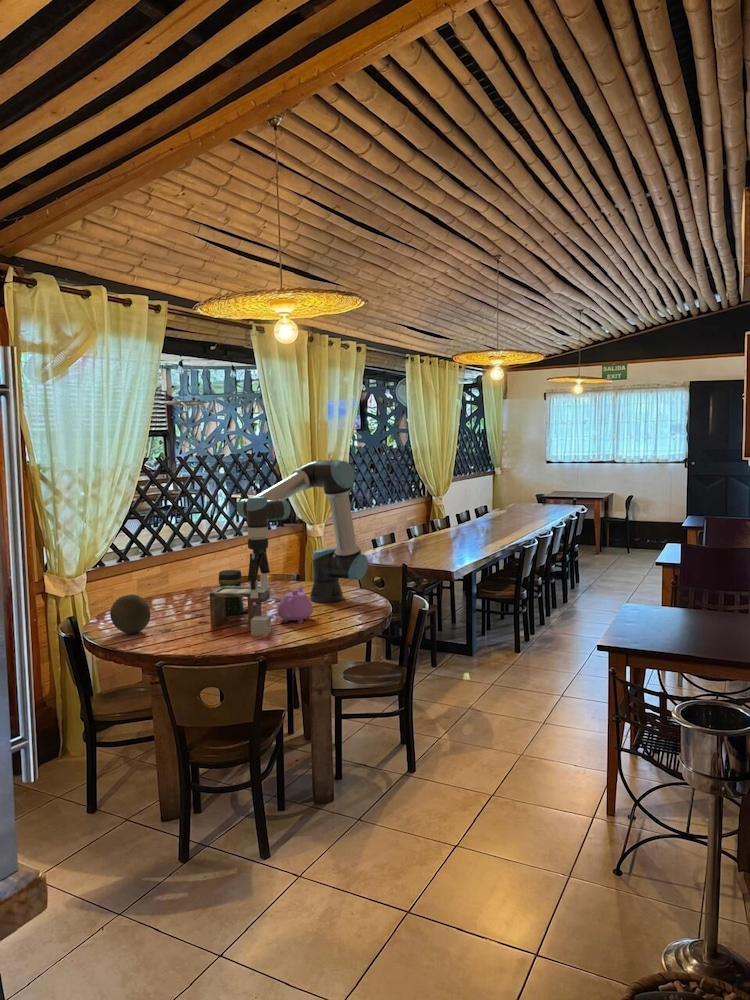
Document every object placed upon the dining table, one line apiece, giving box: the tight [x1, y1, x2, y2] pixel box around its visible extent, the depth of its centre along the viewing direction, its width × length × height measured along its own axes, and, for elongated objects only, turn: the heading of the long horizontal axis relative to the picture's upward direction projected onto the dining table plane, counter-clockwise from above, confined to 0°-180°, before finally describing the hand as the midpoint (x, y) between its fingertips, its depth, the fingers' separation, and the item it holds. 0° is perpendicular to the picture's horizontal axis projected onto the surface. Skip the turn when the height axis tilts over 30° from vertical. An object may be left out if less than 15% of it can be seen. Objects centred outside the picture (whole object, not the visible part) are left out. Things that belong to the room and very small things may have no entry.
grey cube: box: [250, 615, 272, 637], centre depth 256 cm, size 6×6×6 cm
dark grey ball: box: [109, 594, 151, 635], centre depth 258 cm, size 14×14×15 cm
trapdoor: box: [220, 587, 270, 604], centre depth 270 cm, size 19×8×4 cm, turn 84°
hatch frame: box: [209, 585, 263, 628], centre depth 271 cm, size 17×13×14 cm
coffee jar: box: [217, 569, 244, 616], centre depth 286 cm, size 10×8×19 cm
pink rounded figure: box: [277, 584, 314, 624], centre depth 274 cm, size 20×14×12 cm
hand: (259, 594), depth 254 cm, fingers open, 13 cm apart
